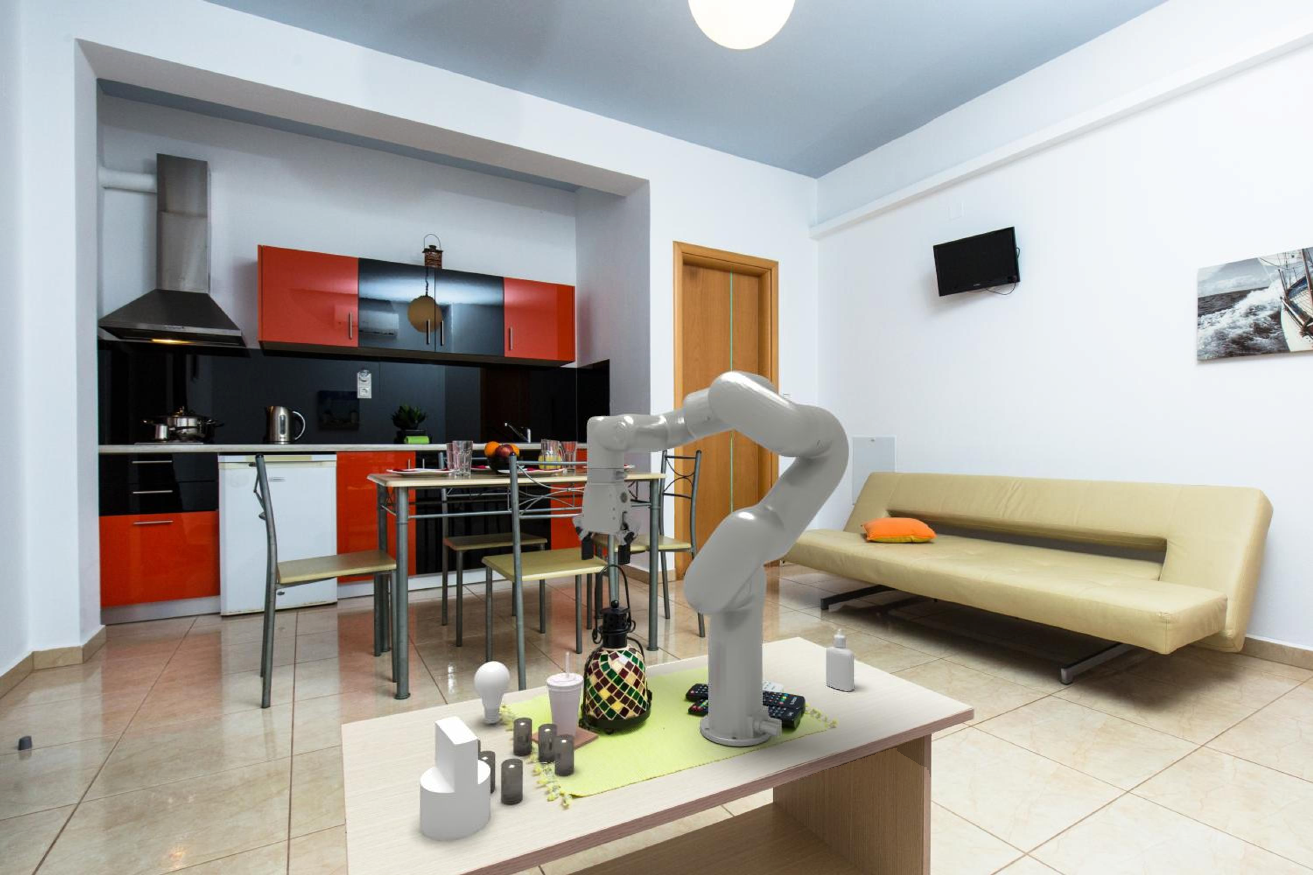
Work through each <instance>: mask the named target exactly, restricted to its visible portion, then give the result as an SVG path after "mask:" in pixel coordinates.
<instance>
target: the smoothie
mask: <svg viewBox="0 0 1313 875" xmlns="http://www.w3.org/2000/svg"><path fill="white" fill-rule="evenodd" d="M584 685H585V684H584V677H583V676H582V675H581V674H578V673H573V672H570V652H565V672H563V673H557V674H553V675H551V676H549V677H547V678H546V685H545V686H546V688H547V690H548V698H549V706H550V713H551V722H552V723H551V724H555V725H557V736H559V735H563V734H569V735H572V736H574V738H575V736H576V730H577V727H578V720H579V714H580V713H579V711H580V704H581V697H582V696H581V695H582V687H583V686H584Z"/></svg>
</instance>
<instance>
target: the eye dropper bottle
mask: <svg viewBox="0 0 1313 875" xmlns="http://www.w3.org/2000/svg"><path fill="white" fill-rule="evenodd" d="M846 637H847V636H846V635H844V634H843V630H842V629H841V628H838V629H837V633H836V634H834V635H833V645H831V646H829V647H827V649H826V650H825V653H826V654H825V672H826V673H825V675H826V676H825V677H826V678H825V684H826V685H827V686H828V687H829V686H830V687H829V688H831V687H833V688H835V689H834V690H836V689H840V690H846V691H849V692H851V691H853V690H854V689H855V656H854V652H853V650H850V649H849V648H848V647H847V638H846ZM833 688H832V689H833ZM852 689H853V690H852ZM840 690H839V691H840ZM846 691H845V692H846Z"/></svg>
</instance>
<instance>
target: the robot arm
mask: <svg viewBox="0 0 1313 875" xmlns="http://www.w3.org/2000/svg"><path fill="white" fill-rule="evenodd" d="M733 430H735V431H737V432H739V433H740V434H742V435H743V436H745V437H747V438H748V439H750V440H751V441H752V442H755V443H756V444H757V445H759V446H761V447H763V448H764V449H766V450H768V451H769V452H771V453H773V454H776V455H778V456H781V457H785V458H794V461H793V462H792V463H791V464H790V466H788V467H787V469H785V470H784V471H783V473H781V475H780V476H779V477H778V478H777V479H776V481H775V483H773V485H772V487H771V488H770V489H769V490H768V492H767V493H766V495H765V496H764V497H763V498H762V499H761V500H760V501H759V502H758V503H757V504H754V505H753V506H748V507H743V508H740V509H737V510H735V511H732V512H731V513H730V514H728V515H727V516H726V517H725V518H724V519H723V520H722V521H721V522H720V523H719V524H718V526H717V527H716V528H715V530H713V532H712V533H711V534H710V536H709V538H708V540H707V541H706V542H705V543H704V545H703V546H702V547H701V549H700V550H699V551H698V553H697V554H696V555H695V557H694V559H692V561H691V563H690V564H689V566H688V567H687V569H686V572H685V574H684V578H683V584H682V585H683V586H682V587H683V588H682V589H683V594H684V598H685V601H686V602H687V603H688V605H689V606H690V607H691V608H692V610H694V611H695V612H697V613H699V614H701V615H704V616H709V620H708V629H707V630H708V632H707V633H708V634H707V635H708V636H707V639H708V641H707V650H708V654H707V658H708V659H707V663H708V664H707V668H708V670H707V672H708V675H707V676H708V678H707V680H708V682H707V683H708V685H707V687H708V688H707V689H708V690H707V691H708V692H707V693H708V694H707V696H708V699H707V700H708V704H707V705H708V708H707V709H708V713H707V714H706V715H704V716H702V718H701V719H700V721H699V731H700V733H701V734H702V736H703V737H705V739H708V740H709V741H711V742H713V743H717V744H719V745H723V746H730V747H748V746H749V747H750V746H756V745H758V744H761V743H763V742H765V741H767V740H769V739H770V738H771V736H772V737H775V738H780V737H781V735H782V732H783V727H782V726H783V725H782V724H783V722H782V720H781V719H778V718H775V717H774V718H773V717H771V716H770V715H769V706H767V705H763V704H764V702H763V701H764V698H763V697H764V695H763V693H764V691H763V688H764V687H763V686H764V685H763V684H764V682H763V681H764V680H763V672H764V671H763V668H764V667H763V638H764V636H763V630H764V628H763V627H764V626H763V624H764V623H763V622H764V610H765V609H764V608H765V601H766V595H767V594H766V593H767V584H768V581H767V573H766V570H765V566H764V565H765V564H766V565H767V564H769V563H771V562H774V561H777V560H779V559H781V558H783V557H784V556H785V555H787V553H789V551H790V550H791V549H792V548H793V546H794V545H795V543H797V541H798V539H799V538H800V537H801V535H802V534H803V533H804V532H805V530H806V529H807V528H808V527H809V525H810V524H811V522H812V521H813V520H814V518H815V517H816V516H817V515H818V513H819V511H820V510H821V509H822V508H823V506H824V505H825V503H826V502H827V501H828V500H829V498H830V497H831V496H832V495H833V493H834V492H835V491H836V489H837V487H838V486H839V485H840V483H841V481H842V480H843V477H844V475H845V473H846V471H847V470H846V469H847V466H848V463H849V458H850V457H849V456H850V447H849V441H848V437H847V434H846V432H845V429H844V427H843V425H842V424H841V422H840V420H839V419H838V418H837V417H836V416H835V414H833V413H831V412H830V411H828V410H827V409H825V408H822V407H819V406H815V405H809V404H801V403H796V402H794V401H791V400H790V399H789V398H786V397H784V396H783V395H781V394H779V393H778V392H777V389H776V387H775V385H774V384H773V383H772V381H771V380H769V379H768V378H766V377H764V376H763V375H760V374H756V373H751V372H747V371H742V370H730V371H729V370H728V371H726V372H724V373H721V374H720V375H718V376H717V377H716V378H715V379H714V380H713V381H712V382H711V384H710V386H709V387H706V388H703V389H699V390H697V391H694V392H690V393H689V394H687V395H686V396H685V397H684V398H683V402H682V407H679V408H677V409H673V410H671V411H667V412H664V413H661V414H657V415H651V414H639V413H637V414H636V413H622V414H619V415H618V414H617V415H614V416H611V415H610V416H609V415H607V416H606V415H601V416H596V415H595V416H592V417H590V418H589V419H588V420H587V425H586V436H587V437H586V483H585V484H584V485H585V486H584V489H583V494H582V504H581V505H582V506H581V512H580V513H578V514H576V515H575V516H574V517H572V523H573V525H574V528H575V529H574V530H575V533H576V534H577V535H578V540H579V541H580V542H581V543H580V544H581V545H580V546H581V547H580V549H581V552H580V554H581V556H580V559H581V561H587V560H593V559H594V557H595V550H594V549H595V540H594V538H593V536H594V534H601V535H611V536H612V535H614V536H615V537H616V539H617V540H618V542H619V544H618V545H617V565H618V566H625V565H630V564H631V558H632V557H631V556H632V554H631V549H632V548H631V545H632V544H634V541H635V539H636V538H637V537H638V536H639V534H638V533H639V532H640V530H641V528H642V523H641V522H640V521H639V520H637V519H636V518H634V517H633V515H632V503H631V496H630V489H629V486H628V484H627V483H625V480H626V479H628V473H627V472H626V471H625V453H628V454H629V453H630V454H631V453H634V454H635V453H660V452H662V451H663V452H665V451H668V450H672V449H674V448H675V449H676V448H679V447H683V446H686V445H688V444H689V445H690V444H692V443H695V442H697V441H700V440H702V439H703V438H706V437H711V436H714V435H718V434H721V433H724V432H728V431H733Z"/></svg>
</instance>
